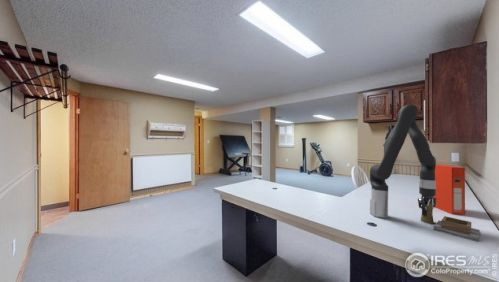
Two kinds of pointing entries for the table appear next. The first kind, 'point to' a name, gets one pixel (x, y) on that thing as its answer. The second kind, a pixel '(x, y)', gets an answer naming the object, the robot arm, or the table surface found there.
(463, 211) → the file binder
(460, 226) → the socket block
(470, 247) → the table surface
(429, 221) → the cork
